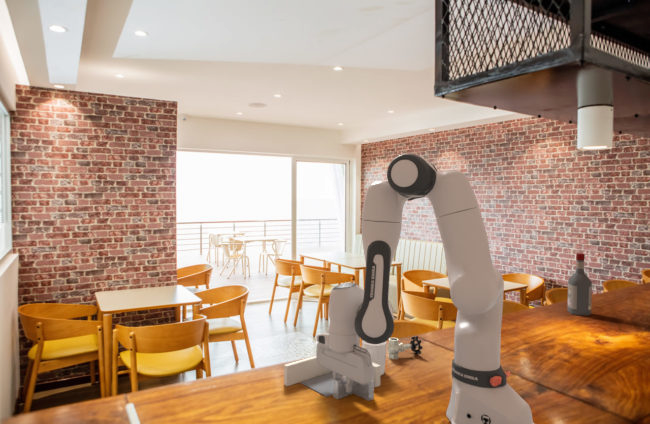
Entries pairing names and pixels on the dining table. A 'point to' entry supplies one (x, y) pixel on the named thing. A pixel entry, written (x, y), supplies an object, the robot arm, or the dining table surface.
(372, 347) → the white cup
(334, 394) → the bracket
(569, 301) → the liquor
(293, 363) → the corner walls
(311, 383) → the mat
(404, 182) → the robot arm
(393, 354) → the valve
